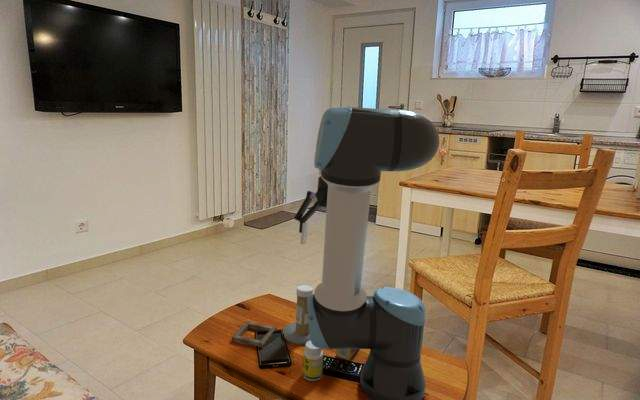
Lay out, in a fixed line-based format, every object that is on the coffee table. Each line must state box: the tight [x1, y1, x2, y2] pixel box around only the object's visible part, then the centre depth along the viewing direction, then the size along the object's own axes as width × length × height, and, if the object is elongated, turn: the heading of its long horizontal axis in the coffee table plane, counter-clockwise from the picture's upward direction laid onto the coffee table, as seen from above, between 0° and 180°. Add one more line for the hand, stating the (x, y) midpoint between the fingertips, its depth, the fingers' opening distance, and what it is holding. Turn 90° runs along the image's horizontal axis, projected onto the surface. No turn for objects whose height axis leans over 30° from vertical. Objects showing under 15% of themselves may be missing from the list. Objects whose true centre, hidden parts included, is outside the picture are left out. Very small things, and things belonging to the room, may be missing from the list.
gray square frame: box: [231, 320, 278, 348], centre depth 118 cm, size 9×9×1 cm
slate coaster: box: [282, 321, 311, 346], centre depth 121 cm, size 11×11×1 cm
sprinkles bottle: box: [295, 284, 314, 335], centre depth 119 cm, size 5×5×14 cm
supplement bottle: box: [302, 340, 324, 382], centre depth 101 cm, size 5×5×8 cm
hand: (324, 246), depth 126 cm, fingers open, 13 cm apart
